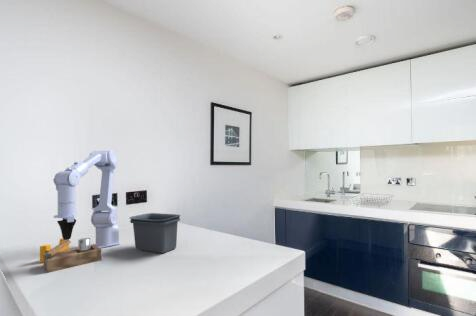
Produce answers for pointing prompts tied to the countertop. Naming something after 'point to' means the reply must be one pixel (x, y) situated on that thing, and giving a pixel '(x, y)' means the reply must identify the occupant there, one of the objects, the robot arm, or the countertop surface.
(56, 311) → the countertop surface
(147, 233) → the storage bin
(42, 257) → the pipe clamp
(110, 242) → the robot arm
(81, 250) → the peg
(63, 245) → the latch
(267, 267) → the countertop surface
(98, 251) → the wooden box
